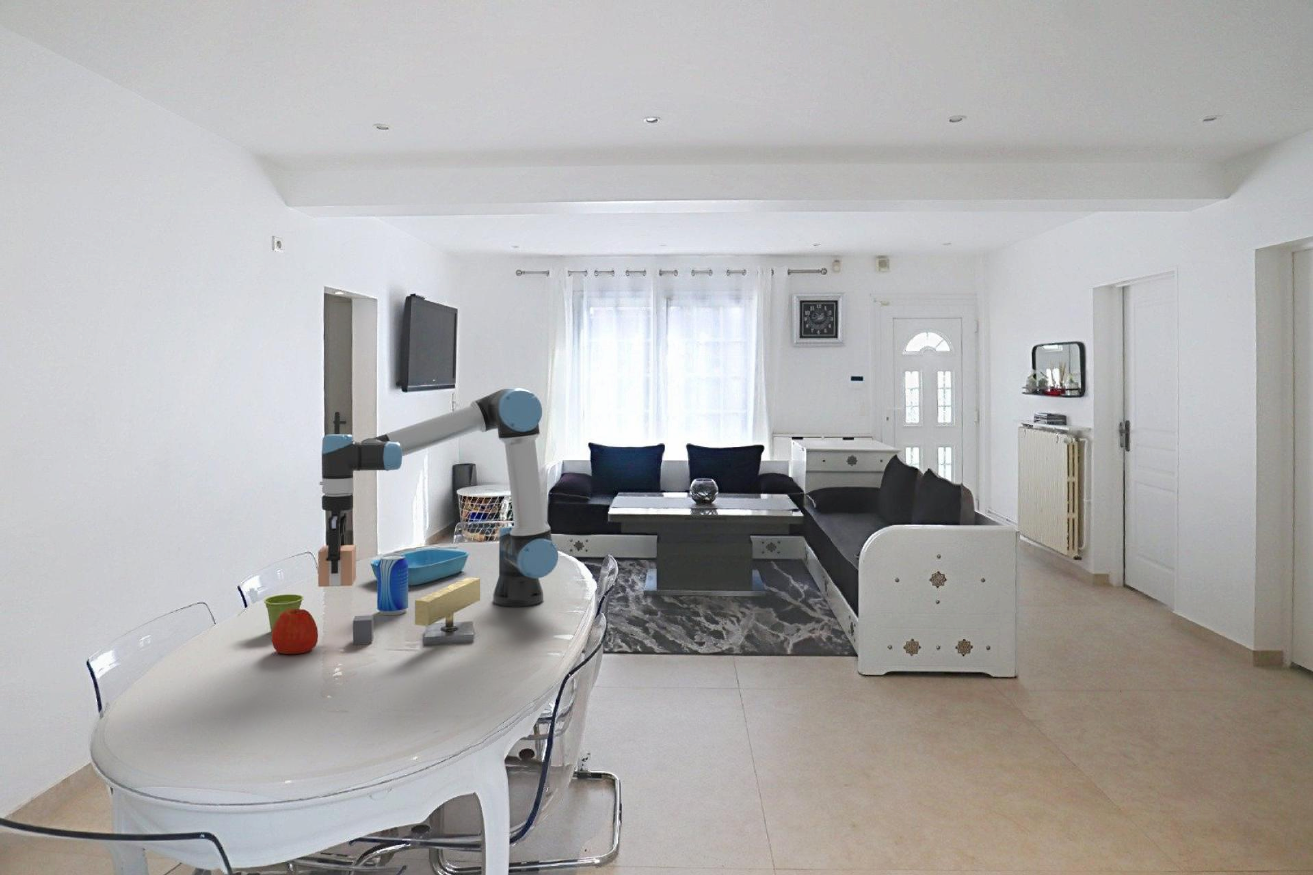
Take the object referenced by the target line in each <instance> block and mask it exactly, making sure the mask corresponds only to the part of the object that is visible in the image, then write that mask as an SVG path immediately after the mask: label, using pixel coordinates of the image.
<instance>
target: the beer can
mask: <svg viewBox="0 0 1313 875" xmlns="http://www.w3.org/2000/svg"><path fill="white" fill-rule="evenodd" d="M380 559H381V560H380V561H379V563H378V565H377V578H376V585H377V587H376V589H377V590H376V591H377V592H376V595H377V596H376V597H377V598H376V599H377V600H376V604H377V605H376V606H377V607H376V609H377V610H378V612H379V614H380V615H383V616H397V615H402V614H404V613H405V612H406V611H407V609H408V608H409V585H408V563H407V561H406V560H405V556H404V555H398V554H386V555H382V556H380Z"/></svg>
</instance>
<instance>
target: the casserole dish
mask: <svg viewBox="0 0 1313 875" xmlns="http://www.w3.org/2000/svg"><path fill="white" fill-rule="evenodd" d="M469 554H470V553H469V552H468V551H464V550H461V549H455V548H423V549H417V550H412V551H407V552H402V553H399V554H397V555H404V556H405V560H406V561H407V563H408V586H418V585H423V584H427V583H430V582H433V581H436V580H441V579H443V578H447V577H450V576H453V575H455V574H458V573H460V572H462V570H463V569H464V568H465V566H466V563H467V560H468V557H469ZM380 560H381V558H377V559H374V560H371V561H370V563H369V564H370V566H371V569H372V572H373V575H374V577H375V578H376V579H377V565H378V563H379V561H380Z"/></svg>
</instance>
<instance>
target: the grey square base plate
mask: <svg viewBox="0 0 1313 875" xmlns="http://www.w3.org/2000/svg"><path fill="white" fill-rule="evenodd" d="M474 635H475V634H474V621H473V620H472V621H471V620H469V621H456V622H455V621H453V627H451V628H447V627H445V622H435V623H433V624H431V625H429V626H425V629H424V635H423V636H424V637H423V638H424V639H423V640H424V641H423V645H424V646H428V645H446V644H447V645H448V644H463V643H464V644H465V643H474V639H475V638H474V637H475V636H474Z"/></svg>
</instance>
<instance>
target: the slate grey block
mask: <svg viewBox="0 0 1313 875" xmlns="http://www.w3.org/2000/svg"><path fill="white" fill-rule="evenodd" d="M374 629H375V628H374V615H373V614H366V615H355V616H354V618H353V619H352V645H367V644H368V645H369V644H373V642H374V638H375V637H374V631H375V630H374Z"/></svg>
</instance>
